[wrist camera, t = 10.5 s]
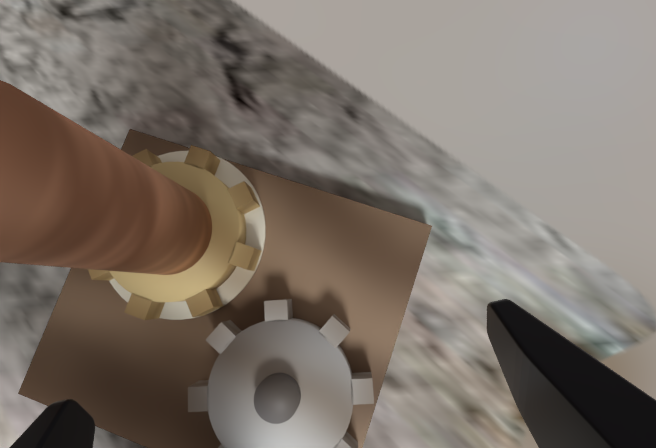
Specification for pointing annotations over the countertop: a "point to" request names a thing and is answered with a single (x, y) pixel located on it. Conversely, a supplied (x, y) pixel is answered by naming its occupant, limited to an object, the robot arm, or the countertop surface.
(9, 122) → the gear spindle
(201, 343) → the gear board
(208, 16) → the countertop surface
